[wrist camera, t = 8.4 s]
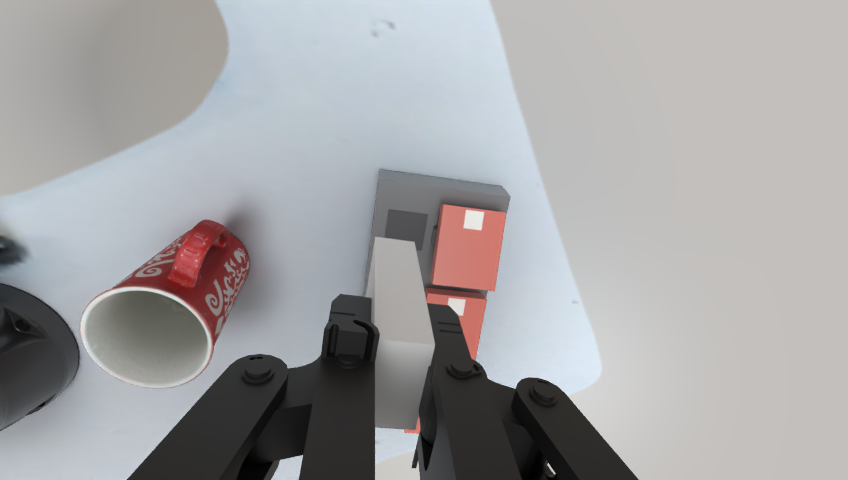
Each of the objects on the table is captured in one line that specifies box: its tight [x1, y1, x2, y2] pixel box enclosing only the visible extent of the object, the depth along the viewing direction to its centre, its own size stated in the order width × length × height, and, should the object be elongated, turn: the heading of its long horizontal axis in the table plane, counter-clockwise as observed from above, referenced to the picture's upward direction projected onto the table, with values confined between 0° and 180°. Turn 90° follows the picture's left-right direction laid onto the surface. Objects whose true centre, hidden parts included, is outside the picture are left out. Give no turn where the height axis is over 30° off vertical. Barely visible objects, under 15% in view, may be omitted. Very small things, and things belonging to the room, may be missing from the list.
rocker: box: [430, 204, 506, 291], centre depth 40 cm, size 6×7×2 cm
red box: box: [425, 288, 487, 360], centre depth 43 cm, size 6×7×2 cm
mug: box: [80, 220, 250, 388], centre depth 38 cm, size 13×9×14 cm
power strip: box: [363, 169, 510, 298], centre depth 47 cm, size 12×30×5 cm, turn 171°
